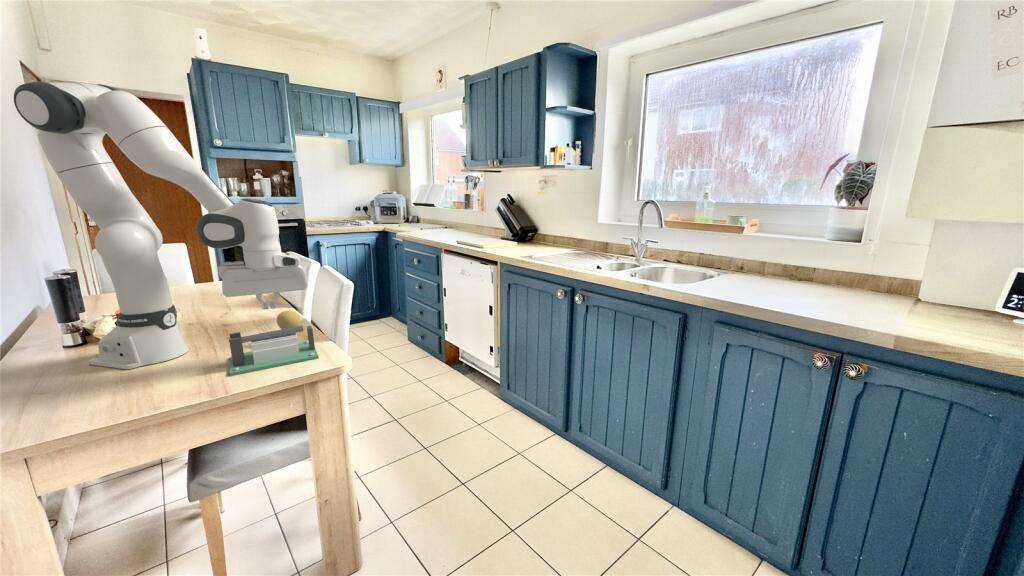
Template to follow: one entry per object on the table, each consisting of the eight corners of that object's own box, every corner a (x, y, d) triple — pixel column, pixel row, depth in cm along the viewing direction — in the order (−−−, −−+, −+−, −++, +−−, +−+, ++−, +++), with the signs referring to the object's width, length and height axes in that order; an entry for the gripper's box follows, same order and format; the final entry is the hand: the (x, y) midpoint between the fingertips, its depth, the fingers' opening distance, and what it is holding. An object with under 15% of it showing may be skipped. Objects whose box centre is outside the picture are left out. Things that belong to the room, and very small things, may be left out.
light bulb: (292, 345, 124) (288, 314, 122) (275, 343, 126) (270, 313, 123) (307, 338, 130) (303, 308, 128) (289, 336, 132) (285, 307, 129)
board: (230, 376, 104) (224, 345, 102) (231, 357, 115) (226, 329, 113) (318, 358, 115) (315, 330, 113) (312, 342, 126) (309, 317, 124)
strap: (233, 345, 108) (233, 341, 107) (234, 341, 110) (233, 338, 110) (303, 331, 116) (303, 328, 116) (302, 328, 119) (302, 325, 119)
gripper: (216, 264, 101) (223, 316, 105) (306, 258, 112) (310, 306, 116) (217, 260, 107) (224, 310, 110) (303, 255, 117) (307, 301, 121)
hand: (269, 308), depth 113 cm, fingers closed
